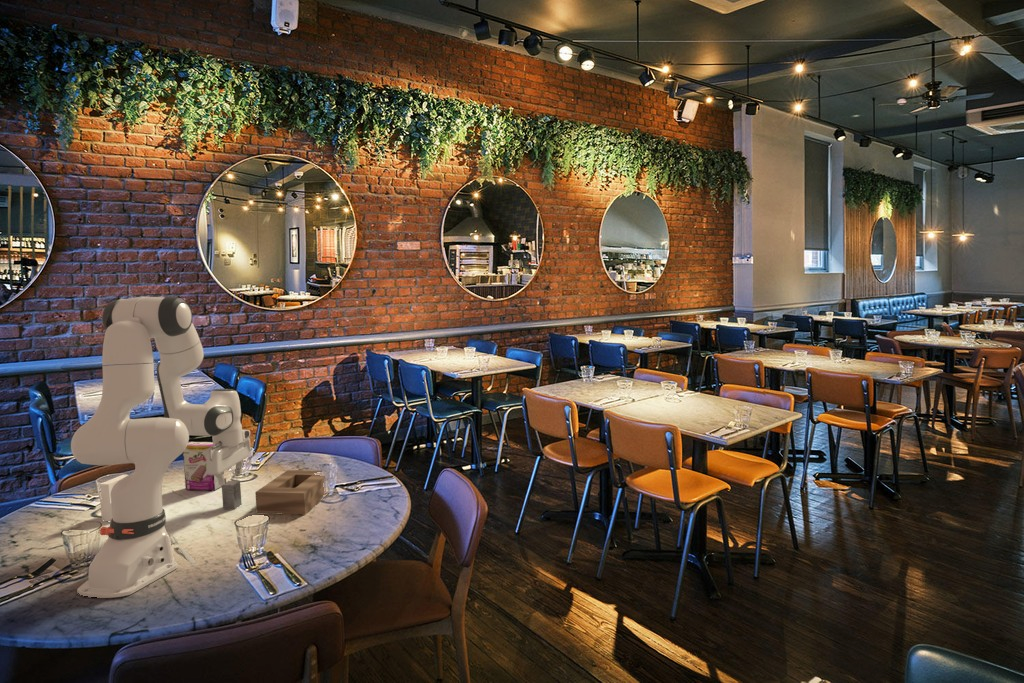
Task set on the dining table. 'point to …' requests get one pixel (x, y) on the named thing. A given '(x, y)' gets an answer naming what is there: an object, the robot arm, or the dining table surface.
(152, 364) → the robot arm
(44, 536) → the dining table surface
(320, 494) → the walnut well
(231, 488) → the gray rectangular block
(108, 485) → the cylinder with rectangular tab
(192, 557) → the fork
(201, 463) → the candy bar box
